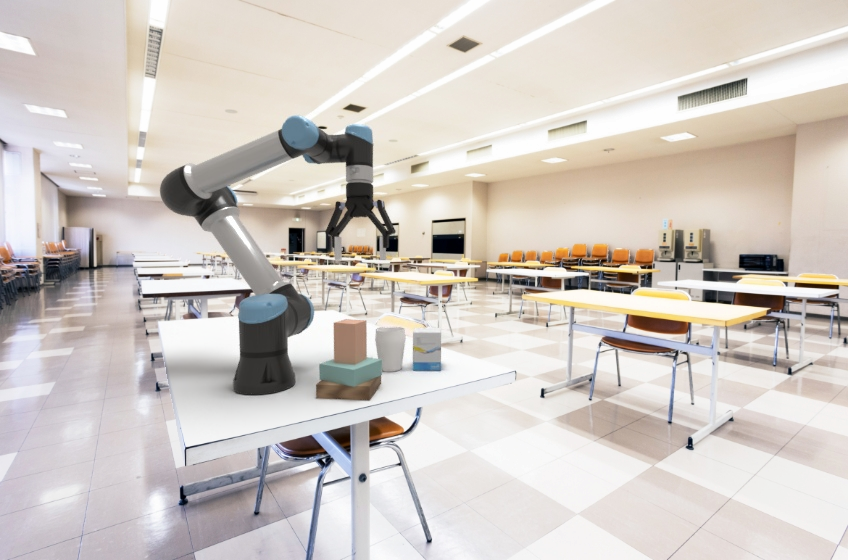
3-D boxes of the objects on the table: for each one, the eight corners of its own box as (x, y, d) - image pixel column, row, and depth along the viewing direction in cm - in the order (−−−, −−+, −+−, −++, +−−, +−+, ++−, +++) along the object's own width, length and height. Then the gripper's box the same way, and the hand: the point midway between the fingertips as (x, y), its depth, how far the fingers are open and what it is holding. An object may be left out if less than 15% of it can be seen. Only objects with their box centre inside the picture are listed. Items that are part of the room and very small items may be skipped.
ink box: (441, 371, 121) (441, 332, 120) (412, 371, 121) (412, 331, 120) (440, 363, 130) (440, 327, 129) (413, 363, 130) (413, 326, 129)
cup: (401, 374, 118) (401, 332, 117) (371, 372, 120) (371, 331, 119) (408, 365, 127) (408, 327, 126) (380, 364, 129) (380, 326, 128)
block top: (319, 379, 101) (319, 363, 101) (349, 369, 111) (348, 354, 111) (354, 386, 96) (353, 369, 96) (382, 374, 105) (381, 359, 105)
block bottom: (316, 401, 98) (316, 384, 97) (333, 384, 111) (333, 369, 110) (369, 403, 96) (369, 386, 96) (381, 385, 109) (381, 371, 109)
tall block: (334, 362, 102) (333, 322, 102) (346, 356, 108) (345, 319, 107) (355, 364, 100) (355, 324, 100) (366, 358, 106) (366, 320, 105)
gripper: (312, 183, 114) (313, 259, 115) (397, 178, 107) (397, 260, 108) (326, 187, 121) (326, 259, 122) (406, 183, 114) (406, 259, 115)
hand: (360, 260), depth 115 cm, fingers open, 13 cm apart
